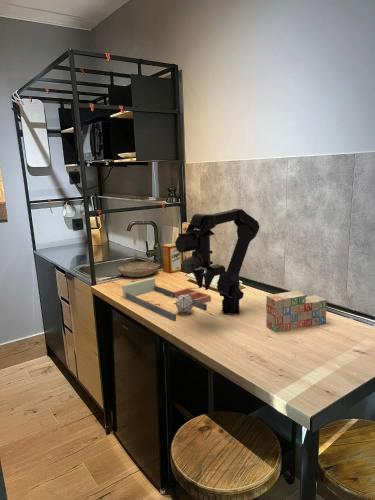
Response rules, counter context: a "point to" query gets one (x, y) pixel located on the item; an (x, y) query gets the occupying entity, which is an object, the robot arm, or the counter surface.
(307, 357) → the counter surface
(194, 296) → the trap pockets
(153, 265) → the ceramic bowl
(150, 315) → the counter surface
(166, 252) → the baking soda box
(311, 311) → the stack of blocks
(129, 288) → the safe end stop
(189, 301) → the game die
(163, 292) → the lane rails
